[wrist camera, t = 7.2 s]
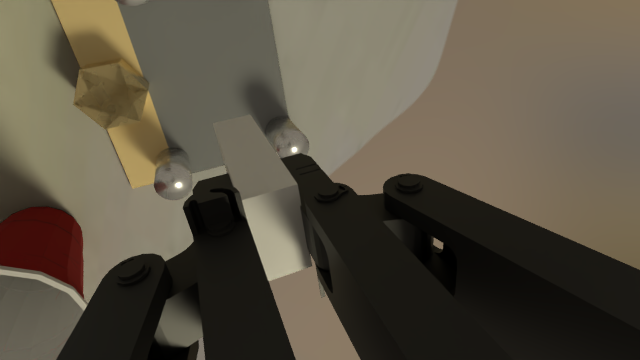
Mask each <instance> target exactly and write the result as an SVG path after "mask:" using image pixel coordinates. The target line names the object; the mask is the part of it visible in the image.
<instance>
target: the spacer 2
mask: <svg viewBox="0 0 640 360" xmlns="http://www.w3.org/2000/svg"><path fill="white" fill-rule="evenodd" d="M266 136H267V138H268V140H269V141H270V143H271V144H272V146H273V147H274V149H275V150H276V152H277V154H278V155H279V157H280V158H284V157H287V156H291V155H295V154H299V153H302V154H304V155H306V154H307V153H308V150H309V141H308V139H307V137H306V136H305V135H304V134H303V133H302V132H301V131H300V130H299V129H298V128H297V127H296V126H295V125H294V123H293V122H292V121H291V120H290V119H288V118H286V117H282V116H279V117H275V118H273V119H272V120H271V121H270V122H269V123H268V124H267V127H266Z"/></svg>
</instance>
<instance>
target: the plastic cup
mask: <svg viewBox="0 0 640 360" xmlns="http://www.w3.org/2000/svg"><path fill="white" fill-rule="evenodd" d="M87 305H88V303H87V302H86V301H85V300H84V295H83V237H82V231H81V227H80V226H79V224H78V223H77V222H76V220H75V219H74V218H73V217H72V216H70V215H68V214H67V213H65V212H64V211H62V210H58V209H54V208H51V207H30V208H27V209H24V210H21V211H19V212H17V213H14V214H12V215H11V216H9V217H8V218H7V219H6V220H4V221H3V222H2V223H0V360H56V359H57V357H58V355H59V354H60V352H61V350H62V348H63V347H64V345H65V343H66V341H67V340H68V338H69V336H70V335H71V333H72V331H73V329H74V328H75V326H76V324H77V322H78V321H79V319H80V317H81V315H82V314H83V312H84V310H85V308H86V307H87Z"/></svg>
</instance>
